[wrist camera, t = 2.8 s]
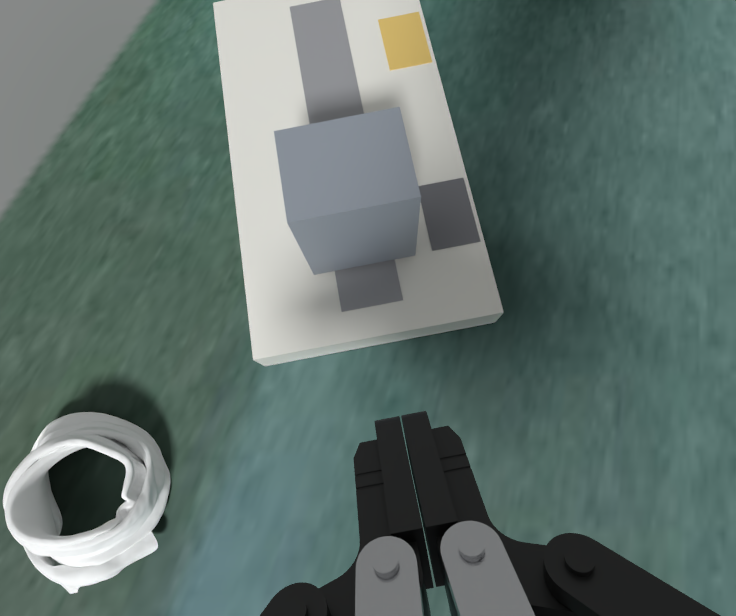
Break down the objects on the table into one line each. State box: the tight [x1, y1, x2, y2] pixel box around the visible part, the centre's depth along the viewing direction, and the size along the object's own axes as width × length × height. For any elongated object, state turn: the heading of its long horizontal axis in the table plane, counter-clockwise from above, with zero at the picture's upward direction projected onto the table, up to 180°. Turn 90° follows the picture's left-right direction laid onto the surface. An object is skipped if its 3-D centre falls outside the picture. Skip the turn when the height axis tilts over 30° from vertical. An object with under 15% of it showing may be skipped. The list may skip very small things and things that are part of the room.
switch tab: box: [274, 107, 421, 275], centre depth 20 cm, size 5×4×6 cm
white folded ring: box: [3, 412, 171, 594], centre depth 21 cm, size 8×7×5 cm
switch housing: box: [213, 0, 504, 366], centre depth 26 cm, size 12×22×2 cm, turn 10°
